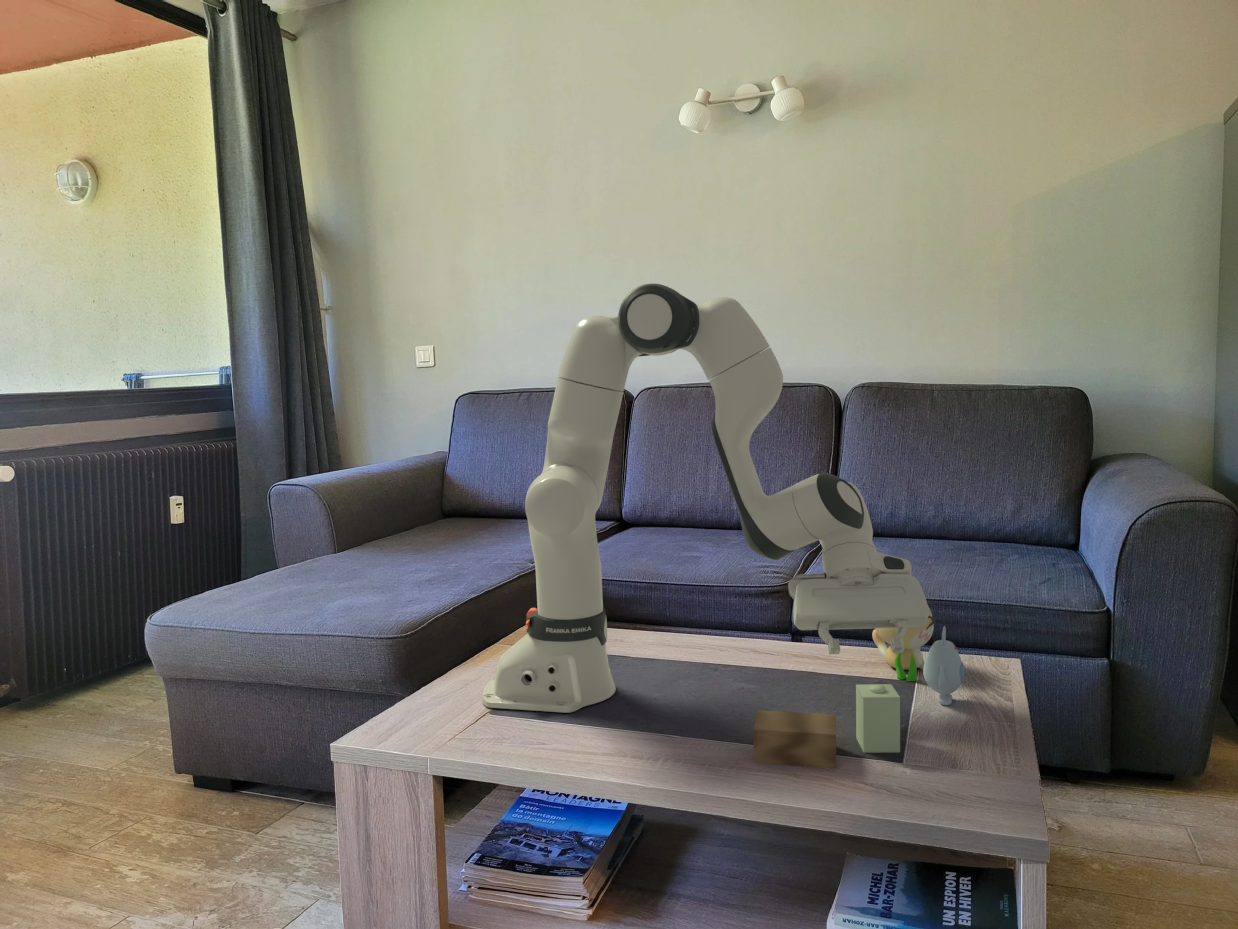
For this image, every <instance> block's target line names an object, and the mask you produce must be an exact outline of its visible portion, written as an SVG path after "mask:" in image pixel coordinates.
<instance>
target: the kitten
mask: <svg viewBox="0 0 1238 929" xmlns="http://www.w3.org/2000/svg"><path fill="white" fill-rule="evenodd" d="M928 609H929V615H928V618H927V620H926V622H925V624H924V625H923V626H922V627H912V628H907V630H906V633H905V635H904V638H903V642H904V652H903V653H893V651H892V649H893V648H892V647H891V641H892V639H893V638H898V637H899V634H900V633H896V630H895V628H874V629H873V630H872V634H871V635H872V637H871V638H872V640H873V643H874V644H875V645H876V647H877V649H878V652H879V653H880V655H881V656H882V657H883V659H884V660H885V662H886V664H888V665H889V666H890V667H892V668H894V669H895V670H896V676H897V677H896V678H897V679H899V680H906V681H905V682H916V681H917V678H918V677H917V676H918V674H917V672H918V671H917V669H920V670H923V668H924V663H925V660H924V656H923V653H922V651H921V649H920V648H921V647H923V646H925V644H927V643H928V642H929V640H930V639H931V637H932V635H933V633H934V627H935V624H936V619H935V618H934V617H933V614H932V611H931V608H930V607H929V605H928ZM886 643H887V644H889V646H887V644H886ZM906 670H908V672H907V673H908V674H906V672H905V671H906Z"/></svg>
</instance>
